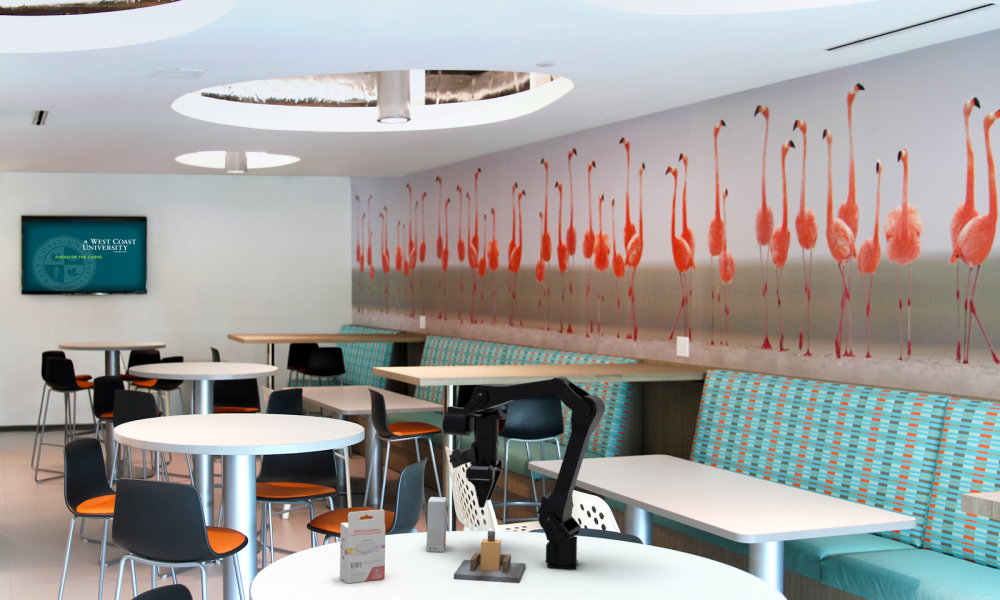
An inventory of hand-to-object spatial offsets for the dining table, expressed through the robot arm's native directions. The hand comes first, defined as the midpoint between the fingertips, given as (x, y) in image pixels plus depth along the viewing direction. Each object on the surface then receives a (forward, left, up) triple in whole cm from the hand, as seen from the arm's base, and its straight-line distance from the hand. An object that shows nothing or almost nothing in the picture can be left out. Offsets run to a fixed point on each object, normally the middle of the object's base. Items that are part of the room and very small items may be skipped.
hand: (484, 503), depth 212 cm
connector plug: (-4, +15, -11) cm, 19 cm away
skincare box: (+12, -3, -12) cm, 17 cm away
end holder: (-4, +15, -12) cm, 20 cm away
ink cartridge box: (+22, +25, -12) cm, 35 cm away
